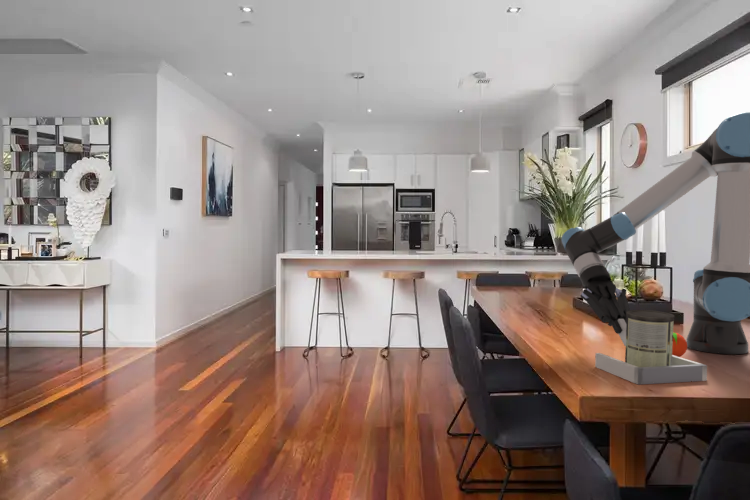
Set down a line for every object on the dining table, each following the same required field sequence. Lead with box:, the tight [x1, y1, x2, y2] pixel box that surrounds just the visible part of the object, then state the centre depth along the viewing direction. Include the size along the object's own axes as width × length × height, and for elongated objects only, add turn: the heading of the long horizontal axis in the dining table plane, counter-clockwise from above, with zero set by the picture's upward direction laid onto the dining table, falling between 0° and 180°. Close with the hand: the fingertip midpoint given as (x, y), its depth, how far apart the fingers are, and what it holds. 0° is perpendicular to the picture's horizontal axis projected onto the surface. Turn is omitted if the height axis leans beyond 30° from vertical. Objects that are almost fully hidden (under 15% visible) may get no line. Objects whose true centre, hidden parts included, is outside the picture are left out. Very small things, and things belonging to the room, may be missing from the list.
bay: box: [594, 352, 708, 385], centre depth 125 cm, size 16×17×4 cm
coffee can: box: [624, 309, 675, 367], centre depth 126 cm, size 10×10×14 cm
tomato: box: [672, 331, 688, 358], centre depth 141 cm, size 8×7×7 cm
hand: (629, 342), depth 132 cm, fingers closed
